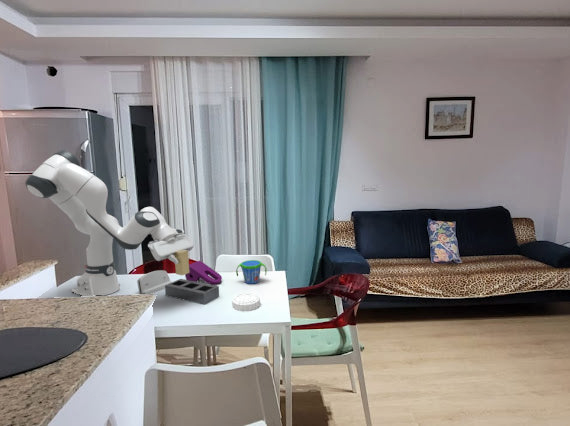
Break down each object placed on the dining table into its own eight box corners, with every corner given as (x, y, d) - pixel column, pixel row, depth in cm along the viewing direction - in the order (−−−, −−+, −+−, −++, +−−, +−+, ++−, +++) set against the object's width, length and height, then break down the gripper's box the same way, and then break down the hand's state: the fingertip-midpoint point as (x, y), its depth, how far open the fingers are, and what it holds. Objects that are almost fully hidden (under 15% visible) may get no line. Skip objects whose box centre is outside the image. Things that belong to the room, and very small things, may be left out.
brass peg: (175, 274, 151) (174, 251, 149) (182, 271, 154) (181, 249, 153) (182, 275, 149) (181, 252, 147) (189, 272, 152) (187, 250, 151)
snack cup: (234, 285, 175) (233, 265, 174) (239, 278, 185) (238, 259, 184) (265, 285, 173) (264, 266, 172) (268, 278, 184) (267, 260, 182)
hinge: (145, 296, 163) (139, 276, 163) (139, 297, 166) (133, 277, 166) (173, 285, 177) (168, 266, 177) (168, 286, 179) (162, 268, 180)
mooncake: (231, 312, 144) (230, 304, 144) (233, 300, 156) (233, 293, 156) (260, 311, 145) (259, 302, 145) (260, 299, 157) (259, 292, 156)
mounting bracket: (220, 291, 184) (195, 273, 190) (225, 278, 181) (200, 260, 187) (208, 297, 175) (183, 278, 181) (214, 284, 173) (188, 265, 179)
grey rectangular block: (165, 295, 164) (164, 285, 163) (181, 288, 172) (180, 278, 171) (204, 304, 152) (204, 293, 151) (219, 296, 161) (218, 286, 160)
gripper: (149, 238, 143) (167, 264, 140) (185, 228, 161) (202, 251, 158) (142, 247, 146) (160, 272, 143) (179, 237, 164) (195, 259, 161)
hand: (182, 261), depth 151 cm, fingers closed on brass peg, 4 cm apart
